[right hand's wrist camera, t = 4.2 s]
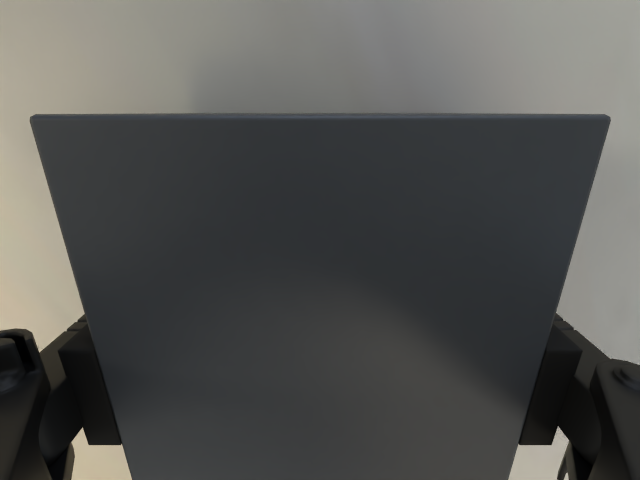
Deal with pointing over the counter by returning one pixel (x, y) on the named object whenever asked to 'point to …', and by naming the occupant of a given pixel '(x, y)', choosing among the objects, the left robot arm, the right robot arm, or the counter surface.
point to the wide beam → (320, 283)
